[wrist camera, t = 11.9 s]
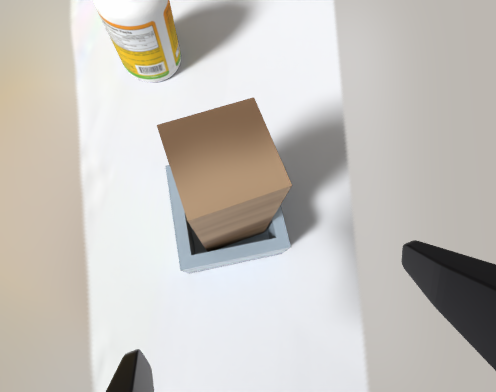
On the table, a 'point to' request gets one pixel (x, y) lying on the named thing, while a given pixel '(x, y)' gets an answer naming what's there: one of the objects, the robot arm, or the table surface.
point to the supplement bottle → (142, 36)
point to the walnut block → (225, 172)
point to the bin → (199, 259)
